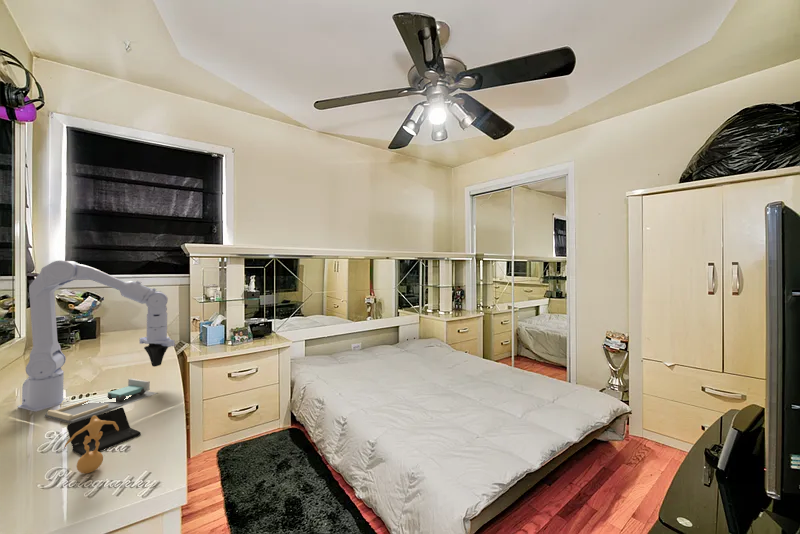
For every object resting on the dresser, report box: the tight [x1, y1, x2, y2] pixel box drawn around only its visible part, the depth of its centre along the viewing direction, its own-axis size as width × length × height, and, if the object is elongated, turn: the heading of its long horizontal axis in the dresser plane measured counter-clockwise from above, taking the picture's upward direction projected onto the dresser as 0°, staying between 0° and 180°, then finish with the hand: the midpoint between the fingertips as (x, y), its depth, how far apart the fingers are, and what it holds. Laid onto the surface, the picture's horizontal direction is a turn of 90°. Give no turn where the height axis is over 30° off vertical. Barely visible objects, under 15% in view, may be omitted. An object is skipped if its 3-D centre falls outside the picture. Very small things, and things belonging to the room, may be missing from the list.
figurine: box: [64, 415, 119, 474], centre depth 66 cm, size 8×6×12 cm
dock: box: [44, 390, 158, 424], centre depth 99 cm, size 12×22×2 cm, turn 161°
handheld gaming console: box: [66, 407, 141, 457], centre depth 79 cm, size 12×7×10 cm
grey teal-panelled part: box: [106, 378, 151, 402], centre depth 104 cm, size 9×8×4 cm
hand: (156, 365), depth 113 cm, fingers closed
